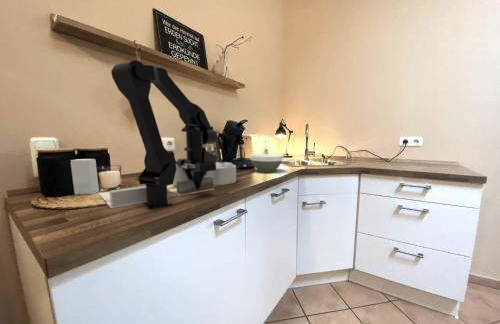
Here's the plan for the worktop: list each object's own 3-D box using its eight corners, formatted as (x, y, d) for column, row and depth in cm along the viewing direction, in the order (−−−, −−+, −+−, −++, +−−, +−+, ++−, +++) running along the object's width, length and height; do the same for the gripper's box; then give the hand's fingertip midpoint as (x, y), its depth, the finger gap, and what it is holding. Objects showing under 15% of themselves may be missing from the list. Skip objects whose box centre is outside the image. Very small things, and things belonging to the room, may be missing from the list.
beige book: (214, 189, 85) (214, 178, 84) (179, 195, 75) (178, 183, 75) (189, 181, 99) (189, 171, 99) (158, 186, 90) (157, 175, 90)
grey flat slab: (161, 199, 71) (160, 185, 71) (110, 208, 62) (109, 192, 62) (142, 188, 86) (141, 177, 86) (99, 194, 77) (98, 181, 76)
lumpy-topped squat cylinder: (204, 182, 99) (203, 162, 98) (227, 178, 108) (227, 160, 107) (218, 186, 91) (217, 165, 90) (241, 181, 100) (241, 162, 99)
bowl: (272, 175, 117) (272, 157, 116) (243, 171, 129) (242, 155, 128) (289, 170, 132) (289, 154, 131) (262, 167, 144) (262, 153, 143)
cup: (164, 184, 92) (164, 164, 91) (182, 181, 97) (182, 163, 97) (176, 188, 84) (176, 167, 83) (195, 185, 90) (195, 165, 89)
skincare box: (99, 191, 81) (97, 158, 80) (92, 194, 77) (89, 159, 75) (81, 192, 81) (78, 158, 79) (72, 195, 76) (69, 160, 75)
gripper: (228, 145, 78) (229, 189, 79) (201, 143, 91) (202, 181, 93) (200, 146, 70) (201, 194, 72) (175, 144, 84) (176, 184, 86)
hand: (195, 187), depth 81 cm, fingers closed on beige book, 3 cm apart
